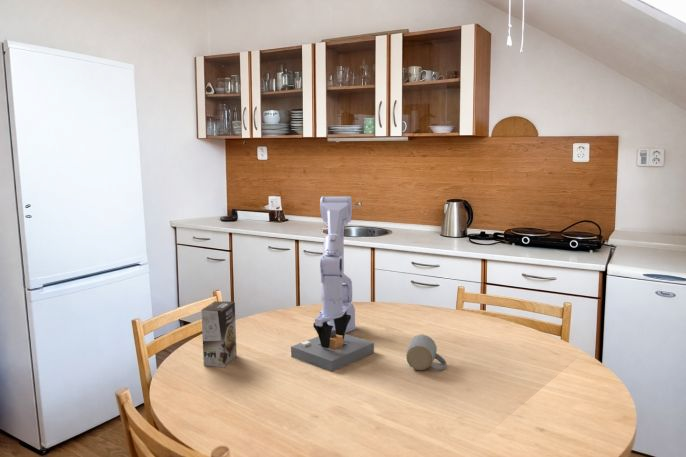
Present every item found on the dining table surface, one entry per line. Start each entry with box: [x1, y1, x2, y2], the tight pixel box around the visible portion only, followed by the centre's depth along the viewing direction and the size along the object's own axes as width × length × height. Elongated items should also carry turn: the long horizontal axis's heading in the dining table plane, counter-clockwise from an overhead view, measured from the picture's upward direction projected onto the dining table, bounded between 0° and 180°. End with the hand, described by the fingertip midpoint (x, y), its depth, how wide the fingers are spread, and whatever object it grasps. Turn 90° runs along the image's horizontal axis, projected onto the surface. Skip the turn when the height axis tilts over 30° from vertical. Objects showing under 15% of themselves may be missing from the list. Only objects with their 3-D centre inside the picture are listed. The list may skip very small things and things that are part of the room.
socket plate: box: [290, 333, 375, 372], centre depth 154 cm, size 18×16×4 cm
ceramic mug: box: [406, 334, 448, 371], centre depth 145 cm, size 11×8×8 cm
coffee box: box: [201, 301, 238, 368], centre depth 150 cm, size 9×6×16 cm
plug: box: [329, 330, 343, 350], centre depth 154 cm, size 4×5×7 cm
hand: (332, 343), depth 154 cm, fingers open, 7 cm apart
